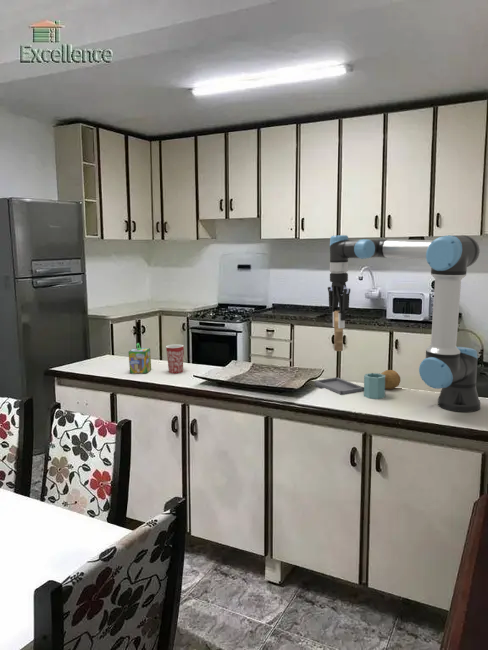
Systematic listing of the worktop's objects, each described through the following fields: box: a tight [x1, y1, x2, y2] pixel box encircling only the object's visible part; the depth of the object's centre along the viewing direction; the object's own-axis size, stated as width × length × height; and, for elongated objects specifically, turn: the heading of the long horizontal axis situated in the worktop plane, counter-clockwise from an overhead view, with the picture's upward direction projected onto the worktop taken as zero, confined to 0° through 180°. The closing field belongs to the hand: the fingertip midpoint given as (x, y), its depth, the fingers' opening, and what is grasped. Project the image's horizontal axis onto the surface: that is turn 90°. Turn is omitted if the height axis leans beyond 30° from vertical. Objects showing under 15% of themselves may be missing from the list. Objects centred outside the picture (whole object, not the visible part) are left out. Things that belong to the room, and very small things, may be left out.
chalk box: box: [127, 342, 152, 375], centre depth 270 cm, size 9×9×15 cm
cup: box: [363, 372, 386, 400], centre depth 214 cm, size 8×8×10 cm
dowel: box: [333, 310, 344, 352], centre depth 225 cm, size 4×4×17 cm
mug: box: [165, 343, 185, 374], centre depth 269 cm, size 13×9×14 cm
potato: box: [380, 369, 401, 390], centre depth 227 cm, size 10×14×8 cm
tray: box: [314, 377, 364, 396], centre depth 228 cm, size 20×12×2 cm, turn 25°
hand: (338, 327), depth 225 cm, fingers closed on dowel, 3 cm apart
